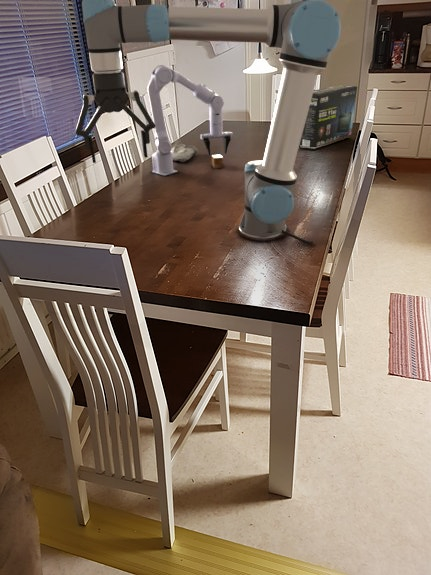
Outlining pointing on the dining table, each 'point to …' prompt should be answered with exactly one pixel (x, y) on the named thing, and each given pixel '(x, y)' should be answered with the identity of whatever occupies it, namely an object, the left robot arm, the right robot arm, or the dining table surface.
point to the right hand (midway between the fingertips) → (120, 159)
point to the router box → (329, 115)
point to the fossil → (183, 152)
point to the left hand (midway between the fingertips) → (217, 153)
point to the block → (217, 161)
